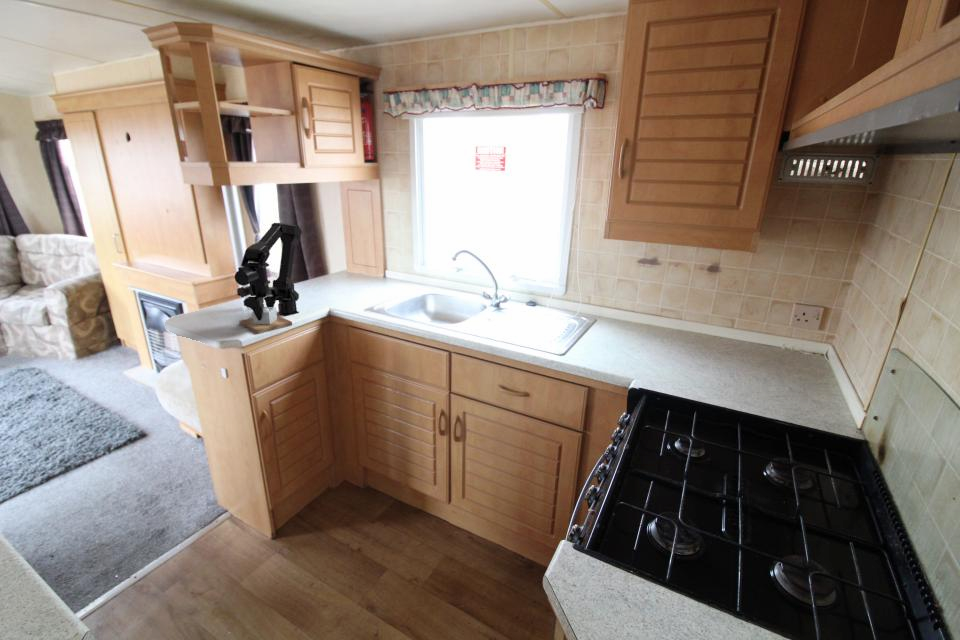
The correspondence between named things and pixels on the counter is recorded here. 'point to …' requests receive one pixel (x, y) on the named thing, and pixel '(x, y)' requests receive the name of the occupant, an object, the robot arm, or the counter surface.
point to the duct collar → (266, 316)
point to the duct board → (263, 328)
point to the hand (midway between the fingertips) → (264, 316)
